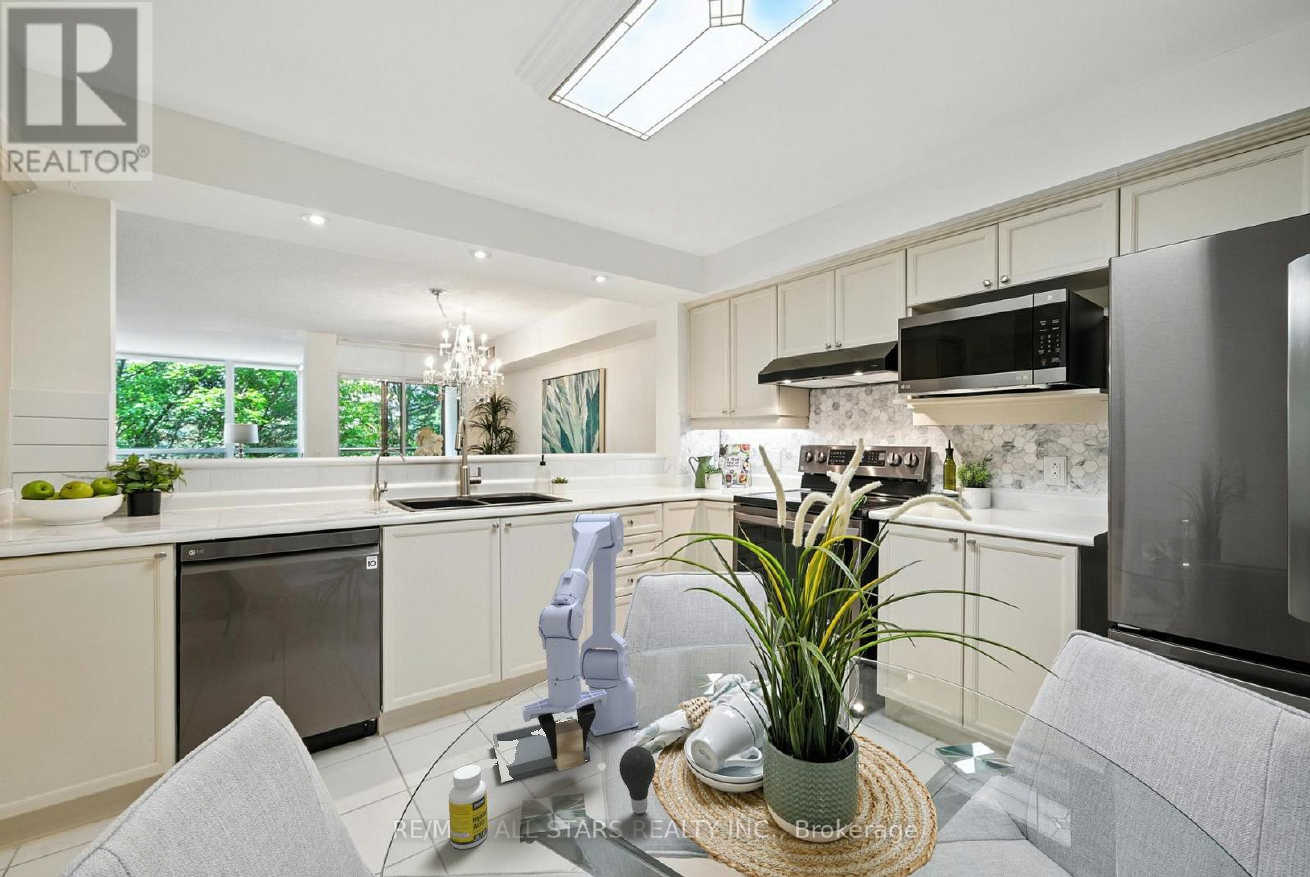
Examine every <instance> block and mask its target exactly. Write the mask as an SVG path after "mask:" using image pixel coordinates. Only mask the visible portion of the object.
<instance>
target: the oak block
mask: <svg viewBox="0 0 1310 877" xmlns="http://www.w3.org/2000/svg"><path fill="white" fill-rule="evenodd" d="M555 724H556V749H557V759H554V761H555V763H556V765H557V768H558V769H557V770H558V771H559V772H560V771H564V770H568V769H572V768H576V767H580V766H583V765H585V762H584V752H583V734H582V728H581V726H580V724H579V723H578V719H577V718H574V719H572V720H568V721H564V722H559V723H555Z"/></svg>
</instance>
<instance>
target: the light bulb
mask: <svg viewBox="0 0 1310 877" xmlns="http://www.w3.org/2000/svg"><path fill="white" fill-rule="evenodd" d="M618 766H619V774H620V777H621V779H622V782H623V783H624V785H625V787H626V788H627V790H628V793H629V796H630V800H631V809H632V811H633V813H636V814H637V813H638V814H641V813H643V814H644V813H645V812H646V811H647V810H648V795H649V789H650V785H651V784H652V780H653V779H654V777H655V772H656V763H655V759H654V756H653V754H652V752H650V750H648V749H647V748H645V747H643V746H641V745H640V746H639V745H637V746H631V747H630V748H628V749H627V750H625V752H624V753H623V754H622V756H621V758H620V761H619V765H618ZM638 814H637V815H638Z"/></svg>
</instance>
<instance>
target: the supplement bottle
mask: <svg viewBox="0 0 1310 877" xmlns="http://www.w3.org/2000/svg"><path fill="white" fill-rule="evenodd" d="M452 777H453V778H452V779H453V786H452V787H451V789H450V790H449V793H448V807H449V808H448V810H449V816H448V818H449V838H450V844H451V845H452V847H454V848H456V849H459V850H460V849H461V850H466V849H471V848H474V847H476V846H478V845H479V844H481V843H483V842H484V841H485V839H486V838H487V837H488V834H489V833H488V832H489V821H488V820H489V818H488V797H487V796H488V794H487V793H488V791H487V785H486V783H485V782H484V780H482V769H481V767H480V766H479V765H478V764H477V765H476V764H469V765H464V766H462V767H460V768H458V769H456V770H455V771H454V772H453V776H452Z"/></svg>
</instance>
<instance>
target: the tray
mask: <svg viewBox="0 0 1310 877" xmlns="http://www.w3.org/2000/svg"><path fill="white" fill-rule="evenodd" d="M565 718H566V719H571V720H572V719H575V718H574V717H573V716H572V715H571V716H567V717H565ZM561 719H562V718H559V719H554V721H555V723H556V722H558V721H560V720H561ZM541 728H542V727H541V725H540V723H536V724H532V725H527V726H523V727H519V728H515V729H510V730H505V731H502V732H497V733H493V734H492V741H494V744H495V747H496V748H497V747H499V744H498V741H513V740H516V739H517V740H518V741H519V742H518V744H517V746H516V750H517V751H516V753H515V760H514V762H513V763H512V764H510V765H506V767H507V768H508V770H509V775H510V776H511V777H512V778H513V779H514V780H515V781H516V780H520V779H522V778H527V777H531V776H534V775H539V774H542V773H547V772H550V771H553V770H554V771H555V770H558V768H557V765H556V763H555V761H554V760H553V759H552V756H551V752H550V747H549V743H548V740H547V737H545V736H543V735H540V734H538V735H532V734H531V732H534V731H536V730H538V731H539V730H540V729H541ZM590 749H591V748H590V745H589V743H588V742H587V743H586V751H585V752H584V761H585V760H588V761H591V753H590V752H591V750H590ZM588 761H587V762H588ZM514 780H513V781H514Z"/></svg>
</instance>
